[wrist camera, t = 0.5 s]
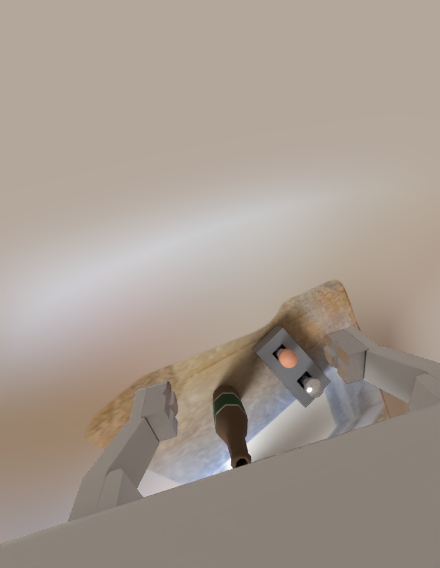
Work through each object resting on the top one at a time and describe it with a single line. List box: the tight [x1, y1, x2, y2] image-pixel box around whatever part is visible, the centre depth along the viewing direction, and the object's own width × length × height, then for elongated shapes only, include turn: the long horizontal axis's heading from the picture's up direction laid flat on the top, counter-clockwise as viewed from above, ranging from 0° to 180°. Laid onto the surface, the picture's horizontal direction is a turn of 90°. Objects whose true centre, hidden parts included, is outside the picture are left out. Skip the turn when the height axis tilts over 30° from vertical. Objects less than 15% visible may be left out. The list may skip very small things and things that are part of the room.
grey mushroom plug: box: [299, 375, 324, 397], centre depth 57 cm, size 4×4×6 cm
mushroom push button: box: [276, 348, 298, 368], centre depth 57 cm, size 4×4×6 cm
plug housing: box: [252, 325, 331, 408], centre depth 61 cm, size 20×10×5 cm, turn 42°
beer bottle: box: [213, 386, 251, 469], centre depth 49 cm, size 8×8×24 cm
